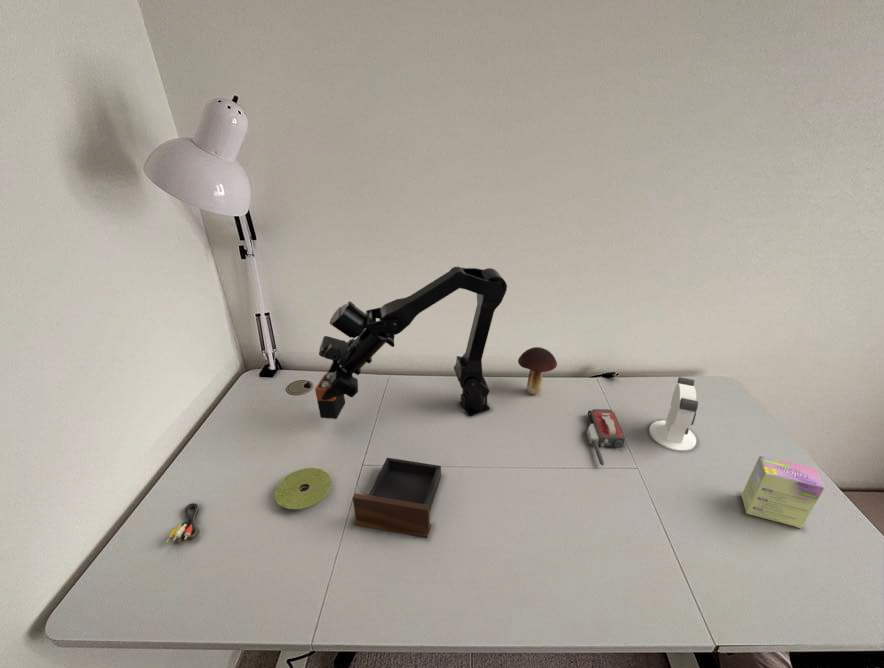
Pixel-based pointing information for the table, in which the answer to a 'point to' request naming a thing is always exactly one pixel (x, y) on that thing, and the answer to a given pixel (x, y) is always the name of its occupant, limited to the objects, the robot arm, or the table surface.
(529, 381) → the decorative mushroom
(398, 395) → the table surface
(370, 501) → the wooden drawer
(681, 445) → the white upright stand
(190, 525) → the composite cable
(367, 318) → the robot arm
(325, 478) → the mat
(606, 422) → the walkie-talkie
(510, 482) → the table surface
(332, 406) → the battery
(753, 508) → the box
